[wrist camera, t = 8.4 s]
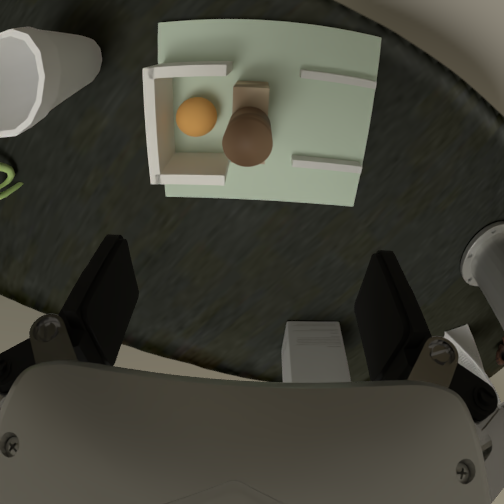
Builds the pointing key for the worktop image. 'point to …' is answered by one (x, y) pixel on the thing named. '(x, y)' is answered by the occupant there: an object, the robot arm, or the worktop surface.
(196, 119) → the ball
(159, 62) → the pitch
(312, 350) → the supplement box
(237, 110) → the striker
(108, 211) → the worktop surface
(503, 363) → the brown irregular piece
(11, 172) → the figurine
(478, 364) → the skyscraper
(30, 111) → the foam cup
